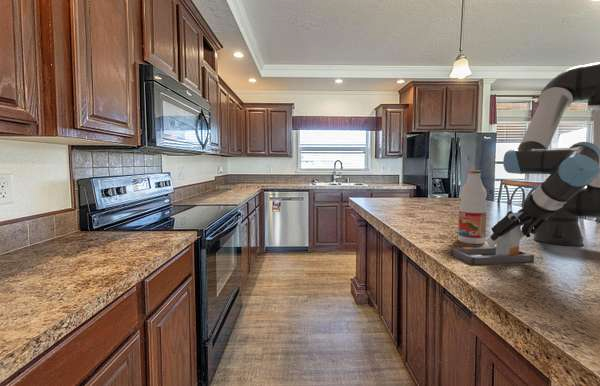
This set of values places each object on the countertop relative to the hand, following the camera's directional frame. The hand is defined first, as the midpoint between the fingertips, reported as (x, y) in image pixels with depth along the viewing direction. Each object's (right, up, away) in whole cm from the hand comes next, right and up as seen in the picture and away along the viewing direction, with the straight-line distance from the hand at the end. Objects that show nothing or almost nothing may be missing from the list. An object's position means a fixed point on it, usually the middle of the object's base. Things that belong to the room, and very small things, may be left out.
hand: (499, 243), depth 109 cm
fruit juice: (0, -2, +18) cm, 18 cm away
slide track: (-5, -4, -4) cm, 8 cm away
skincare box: (+1, -4, -3) cm, 5 cm away
